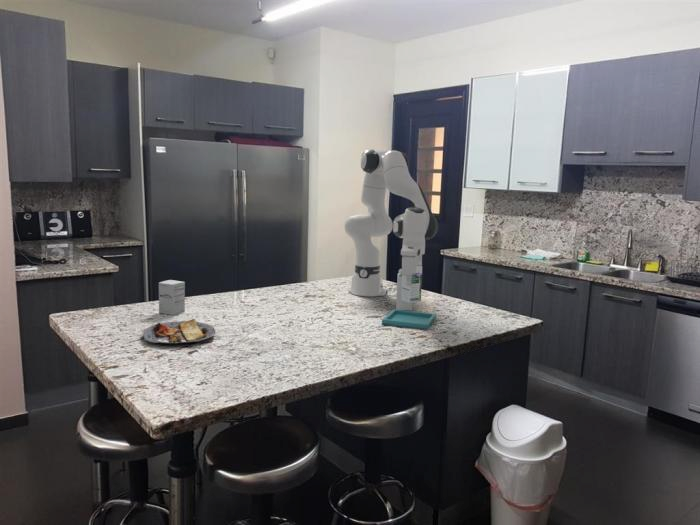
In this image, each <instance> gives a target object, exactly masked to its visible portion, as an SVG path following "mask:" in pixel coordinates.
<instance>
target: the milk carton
mask: <svg viewBox="0 0 700 525" xmlns="http://www.w3.org/2000/svg"><path fill="white" fill-rule="evenodd" d="M397 272H398V273H397V282H396V297H395V298H396V301H395V309H396V310H404V311H413V303H414V302H411V303H409V302H406V301H403V300H402V268H399V270H398V271H397Z"/></svg>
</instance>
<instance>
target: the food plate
mask: <svg viewBox="0 0 700 525" xmlns="http://www.w3.org/2000/svg"><path fill="white" fill-rule="evenodd" d="M142 332H143V338H144V340H145V341H146V342H150V343H156V344H158V343H159V344H168V345H173V344H174V345H176V344H177V345H178V344H189V343H196V342H201V341H203V340H206V339H209V338H211V337H213V336H214V335H215V334H216V333H217V332H216V329H215V328H214V327H213V325H211V324H208V323H205V322H200V321H196V319H195V318H192V319H190V320H184V321H177V320H176V321H168V322H162V323H161V322H157V324H154V325H151V326H148V327H146V328H145V329H144V330H143V331H142ZM182 340H184V341H182Z"/></svg>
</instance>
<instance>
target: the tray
mask: <svg viewBox="0 0 700 525" xmlns="http://www.w3.org/2000/svg"><path fill="white" fill-rule="evenodd" d="M436 318H437V314H436V313H429V312H421V311H413V310H412V311H409V310H396V308H395V309H394V308H393V309H392V310H391V311H390V312H389V313H388V314H387V315H385V316H384V317H383V318H382V320H381V325H383V324H385V325H386V326H391V325H392V327H401V328H408V329H415V328H417V329H416V330H425V331H428V330H429V329H430V327H431V326H432V324H434V322H435V320H436Z"/></svg>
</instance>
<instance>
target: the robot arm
mask: <svg viewBox="0 0 700 525" xmlns="http://www.w3.org/2000/svg"><path fill="white" fill-rule="evenodd" d="M409 163H410V162H409V158H408V155H407V154H406V153H405V152H401V151H398V150H389V149H385V150H384V149H366V150H365V151H363V153H362V154H361V158H360V167H361V170H362V171H363V172H365V173H364V177H363V178H364V179H363V182H362V183H363V184H362V190H361V196H360V197H361V199H360V201H361V202H362V204H363V205H364V206H366V208H367V210H368V212H367V214H354V215H350V216H349V217H347V218H346V220H345V222H344V231H345V234H347V236H349V237H350V238H351V239H352V241H353V243H354V246H355V255H356V256H355V259H356V260H355V261H356V262H355V265H354V272H355V273H354V274H353V275H352V276H351V282H350V289H347V292H348V293H350V294H352V295H355V296H359V297H383V296H386V293H387V287H385V286H384V285H383V278H382V275H381V271H380V270H381V264H380V249H379V248H378V247H377V246H375V245H374V244H373V242H372V238H379V237H384V236H385V237H386V236H388V235H389V234H390V233H391V232H392V233H393V234H394V235H395V236H396V237H397V238H400V239H402V248H401V249H400V256H402V257H401V269H402V273H403V275H404V276H406V280H407V286H411V285H412V275H413V274H415V273H416V266H417V265H420V266H422V267H423V255H425V253H426V252H425V251H426V240H431V239H433V238H434V237H435V236H436V234H437V233H438V231H439V224H438V221H437V219H436V217H435V215H434V214H433V212H432V210H431V208H430V205H429V203H428V201H427V198H426V196H425V194H424V191H423V189H422V187H421V186H420V184H419V183H418V182H416V181H415V180H414V179H413V178H412V176H411V173H410V172H409ZM387 190H388V191H389V192H390V193H391V194H393V195H396V196H399V197H402V198H405V199H407V200H409V201H411V202H412V203H413V204H414V206H410V207H407V208H406V209H405V211H404V213H402V214H399V215H397V216H396V217H395V218H394V219H393V220H392V219H391V217H390V216H389V215H388V213H387V211H386V206H385V201H386V200H385V198H386V192H387Z"/></svg>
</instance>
